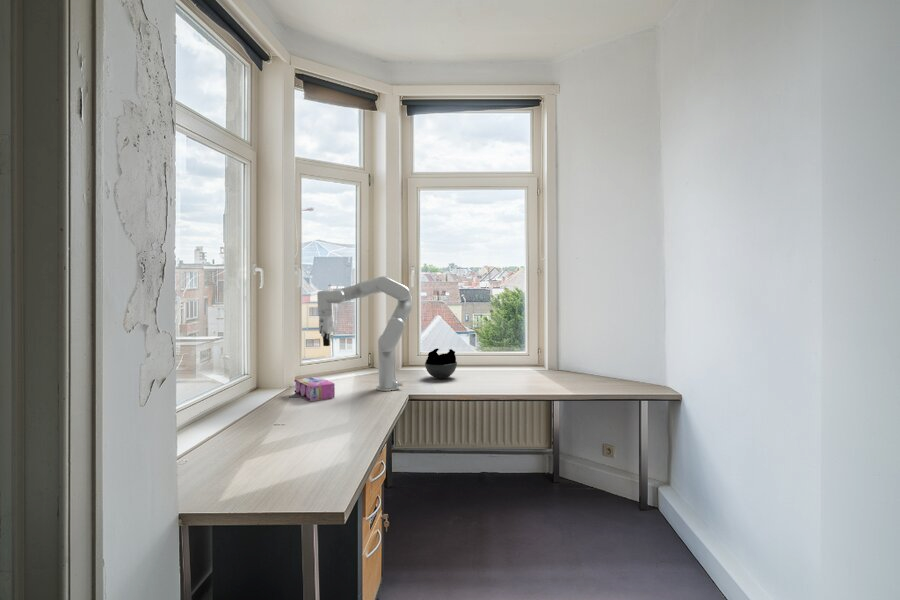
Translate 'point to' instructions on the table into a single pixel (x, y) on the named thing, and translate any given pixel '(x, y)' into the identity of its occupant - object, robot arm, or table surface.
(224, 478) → the table surface
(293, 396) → the charcoal mat
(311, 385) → the pink multipack carton
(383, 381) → the robot arm
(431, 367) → the bowl of black rocks
